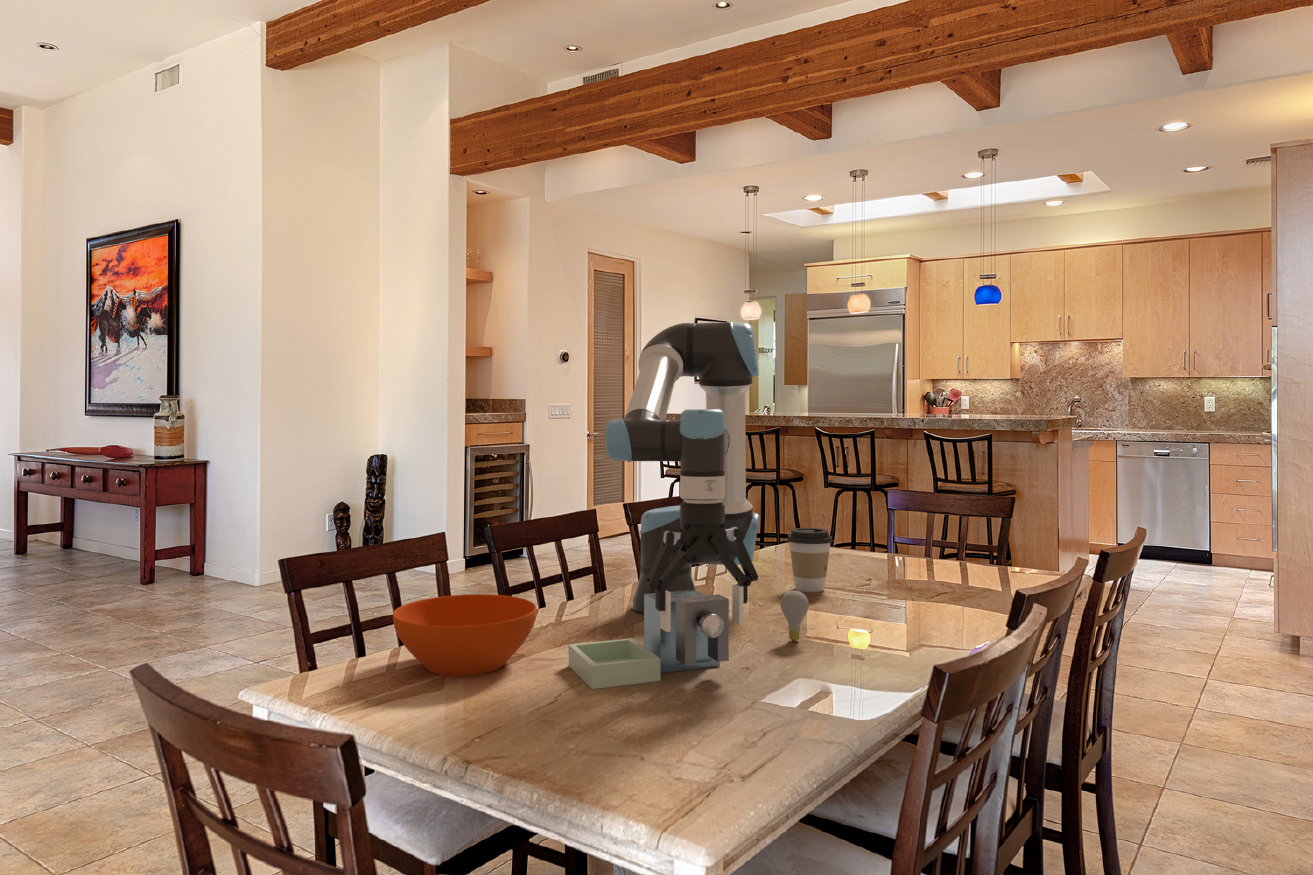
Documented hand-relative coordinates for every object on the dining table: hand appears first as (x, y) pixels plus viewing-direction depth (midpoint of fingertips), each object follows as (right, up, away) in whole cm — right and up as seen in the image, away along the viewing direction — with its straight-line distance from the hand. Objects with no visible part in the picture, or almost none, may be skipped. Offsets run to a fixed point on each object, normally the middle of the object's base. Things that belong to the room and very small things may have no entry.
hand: (702, 626), depth 151 cm
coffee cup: (+31, -7, +74) cm, 81 cm away
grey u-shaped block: (0, -6, 0) cm, 6 cm away
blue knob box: (-2, -9, +5) cm, 10 cm away
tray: (-15, -9, +3) cm, 18 cm away
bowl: (-42, -9, +9) cm, 44 cm away
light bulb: (+19, -8, +25) cm, 32 cm away
